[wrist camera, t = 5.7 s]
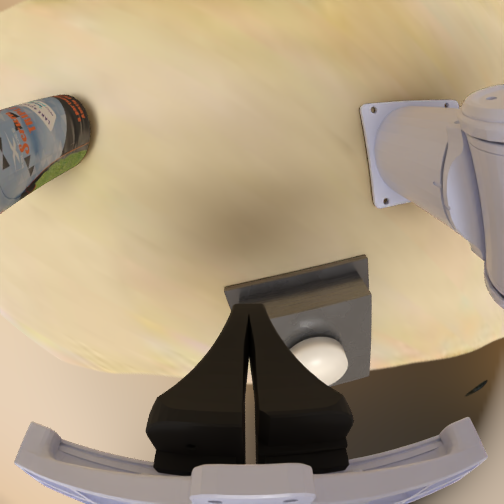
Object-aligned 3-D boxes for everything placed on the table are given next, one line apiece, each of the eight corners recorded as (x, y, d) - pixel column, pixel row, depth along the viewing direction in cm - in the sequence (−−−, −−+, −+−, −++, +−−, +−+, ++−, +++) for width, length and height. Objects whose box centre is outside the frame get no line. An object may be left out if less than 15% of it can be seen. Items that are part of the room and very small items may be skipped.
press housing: (365, 254, 23) (383, 279, 19) (366, 351, 28) (377, 378, 24) (224, 287, 24) (221, 317, 20) (257, 376, 29) (259, 406, 26)
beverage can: (112, 113, 17) (-7, 129, 7) (74, 194, 20) (-27, 264, 9) (58, 83, 16) (-58, 87, 5) (27, 160, 18) (-76, 207, 8)
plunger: (331, 302, 24) (347, 342, 20) (335, 342, 26) (348, 381, 22) (275, 315, 25) (280, 357, 20) (285, 354, 27) (290, 394, 22)
